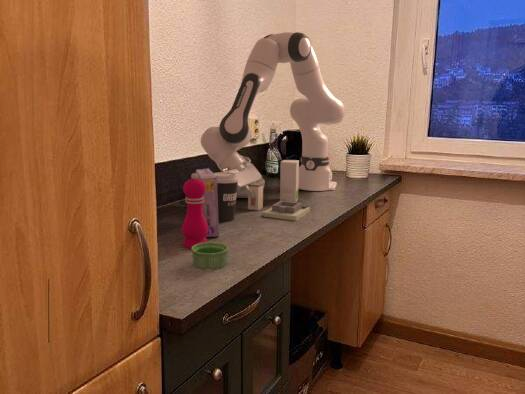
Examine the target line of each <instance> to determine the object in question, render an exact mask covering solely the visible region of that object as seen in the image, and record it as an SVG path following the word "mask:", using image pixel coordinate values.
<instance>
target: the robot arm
mask: <svg viewBox="0 0 525 394" xmlns="http://www.w3.org/2000/svg"><path fill="white" fill-rule="evenodd" d="M311 42H312V41H311V40H310V38H309V36H308V35H307V34H305V33H303V32H298V31H297V32H292V31H291V32H285V31H284V32H280V33H274V34H273V33H271V34H267V35H265V36H264V37H263V38H260V39H258V40H257V41H256V43H255V44H254V46H253V48H252V49H251V51H250V54H249V55H248V58H247V61H246V64H245V65H244V66H245V67H244V70H243V73H242V78H241V82H240V86H239V89H238V91H237V94H236V96H235V98H234V101H233V103H232V105H231V108H230V110H229V111H228V112H227V113H226V114H225V115H224V117H223V118H222V119H221V120H220V123H219V126H210V127H208V128H207V129H206V130H205V131H204V132H203V134H202V135H201V137H200V145H201V147H202V148H203V150H204V152H205V153H206V154H207V155H208V157H209V158H210V159H211V161H214V162H215V164H216V165H217V168H218V169H219V170H220V172H230V173H236V174H237V177H238V178H239V182H238V185H237V192H238V191H240V190H242V191H243V192H244V193H246V194H247V195H249V196H250V197H251V198H254V197H255V196H256V194H255V193H254V191H251V190H250V189H249V187H248V185H249V184H251V183H258V182H260V181H261V180H262V178H263V177H262V174H261V173H260V171H259V170H258V169H257V168H256V166H254V164H253V163H251V162H252V160H251V159H250V158H249V157H247V156H244V155H241V154H239V153H238V152H237V151H239V150H241V149H243V148H244V147H246V146H247V145H249V143H250V142H251V140H252V130H251V129H250V126H249V115H250V112H251V109H252V106H253V105H254V102H255V100H256V97H257V96H258V94H259V93H263V92H266V91H267V90H268V89H269V86H270V85H271V83H272V82H273V79H274V77H275V74H276V70H277V67H278V63H279V64H280V63H281V64H287V63H289V64H290V68H291V74H292V75H293V81H294V84H295V88H296V89H297V91H298V92H299V93H300V94H302V95H303V96H304V97H300V98H296V99H294V100H293V101H292V103H291V104H290V108H289V113H290V117H291V119H292V120H293V121H295V123H296V125H297V126H298V128H299V131H300V134H301V139H302V140H301V142H302V143H301V144H302V148H301V149H302V151H301V154H302V155H300V164H301V165H299V183H298V190H304V191H313V192H319V191H320V192H322V191H335V190H336V187H337V184H338V183H337V182H336V181H333V171H332V169H331V167H330V166H329V164H330V155H329V154H328V153H329V138H328V137H327V135H326V134H325V133H323V132H322V130H321V128H320V125H326V126H331V125H336V124H340V123H341V122H342V120H343V119H344V117H345V113H346V108H345V106H344V103H343V102H342V101H341V100H340V99H338V98H336V97H335V96H334V94H332V92H331V91H330V90H329V89H328V87H327V86H326V83H325V81H324V78H323V76H322V72H321V69H320V64H319V61H318V57H317V54H316V53H315V50H314V47H313V46H312V43H311Z"/></svg>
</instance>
